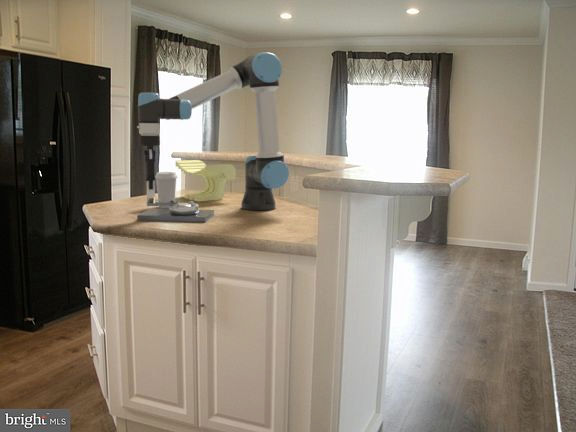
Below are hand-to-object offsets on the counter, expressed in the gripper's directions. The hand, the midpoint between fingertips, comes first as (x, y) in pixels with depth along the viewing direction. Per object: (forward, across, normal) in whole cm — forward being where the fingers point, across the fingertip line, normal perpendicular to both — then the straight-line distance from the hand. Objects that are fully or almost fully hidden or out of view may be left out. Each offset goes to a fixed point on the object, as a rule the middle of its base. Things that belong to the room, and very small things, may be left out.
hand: (150, 197), depth 208 cm
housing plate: (+9, -2, +10) cm, 13 cm away
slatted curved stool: (+9, -54, +29) cm, 62 cm away
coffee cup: (+9, -29, +8) cm, 32 cm away
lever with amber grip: (+6, 0, +8) cm, 10 cm away
